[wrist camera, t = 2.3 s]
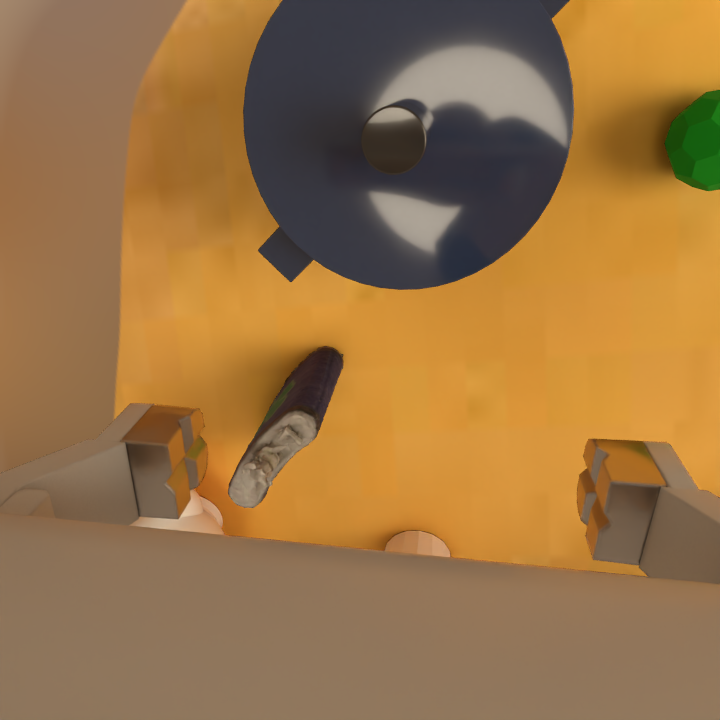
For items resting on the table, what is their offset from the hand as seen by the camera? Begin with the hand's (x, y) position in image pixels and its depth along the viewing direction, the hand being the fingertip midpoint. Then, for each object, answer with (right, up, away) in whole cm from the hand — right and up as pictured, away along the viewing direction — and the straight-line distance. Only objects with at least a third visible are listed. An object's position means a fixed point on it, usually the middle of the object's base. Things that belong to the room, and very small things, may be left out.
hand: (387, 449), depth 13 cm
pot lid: (+1, +12, +14) cm, 19 cm away
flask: (-5, 0, +32) cm, 33 cm away
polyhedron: (+19, +15, +21) cm, 32 cm away
